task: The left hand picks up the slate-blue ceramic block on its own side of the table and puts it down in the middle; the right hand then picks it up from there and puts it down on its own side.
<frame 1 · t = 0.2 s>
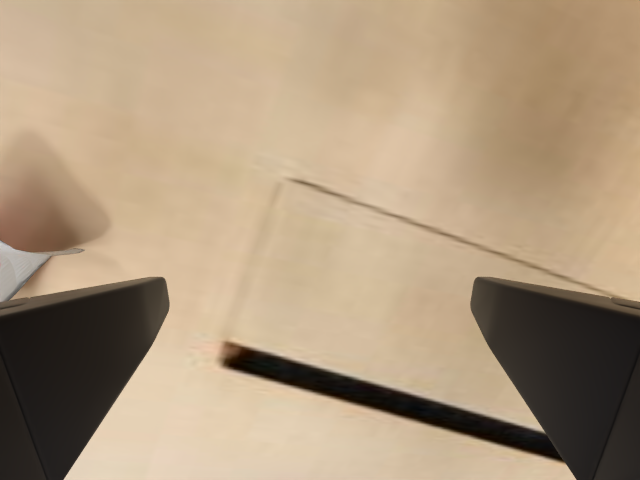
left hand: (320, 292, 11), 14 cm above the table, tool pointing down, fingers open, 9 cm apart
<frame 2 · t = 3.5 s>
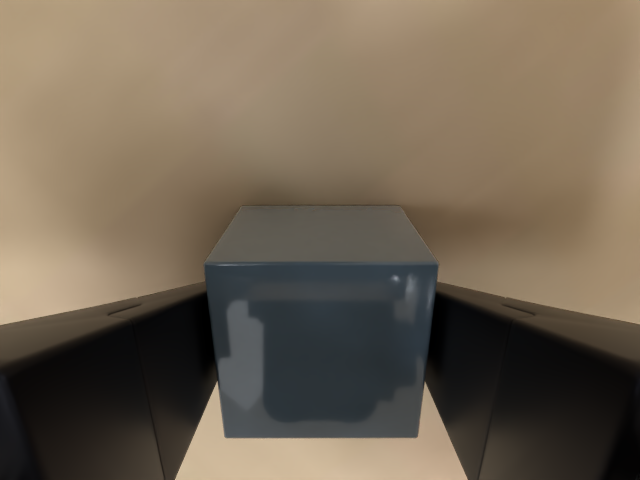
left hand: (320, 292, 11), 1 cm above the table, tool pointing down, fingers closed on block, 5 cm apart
block: (320, 276, 12), on the table, touching left hand
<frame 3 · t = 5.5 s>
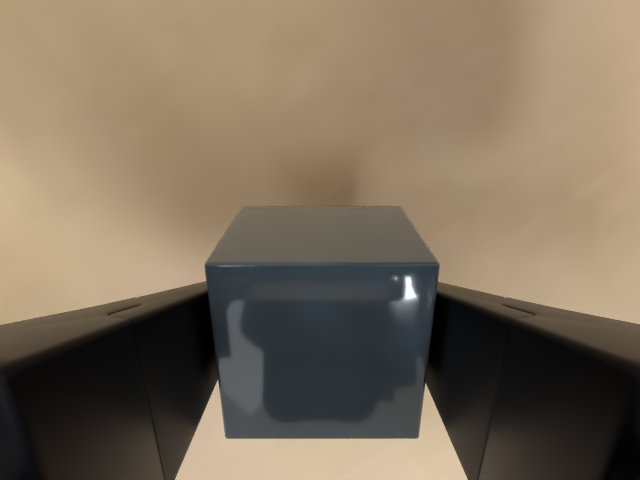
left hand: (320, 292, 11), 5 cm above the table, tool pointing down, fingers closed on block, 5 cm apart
block: (321, 277, 12), point 4 cm above the table, touching left hand
when the left hand's fingers open (2 cm above the table, at t = 7.7 s): block stays where it is, on the table.
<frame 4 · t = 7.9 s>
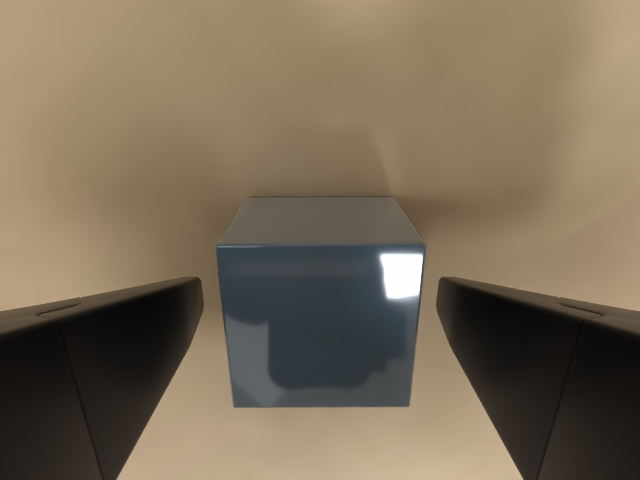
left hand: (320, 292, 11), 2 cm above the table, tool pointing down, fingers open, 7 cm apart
block: (320, 263, 13), on the table
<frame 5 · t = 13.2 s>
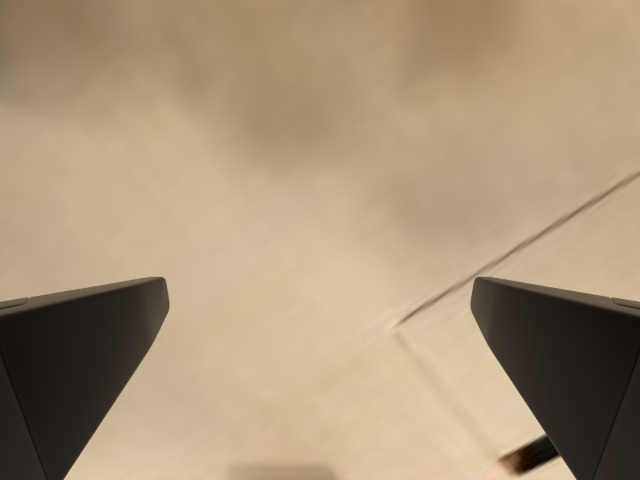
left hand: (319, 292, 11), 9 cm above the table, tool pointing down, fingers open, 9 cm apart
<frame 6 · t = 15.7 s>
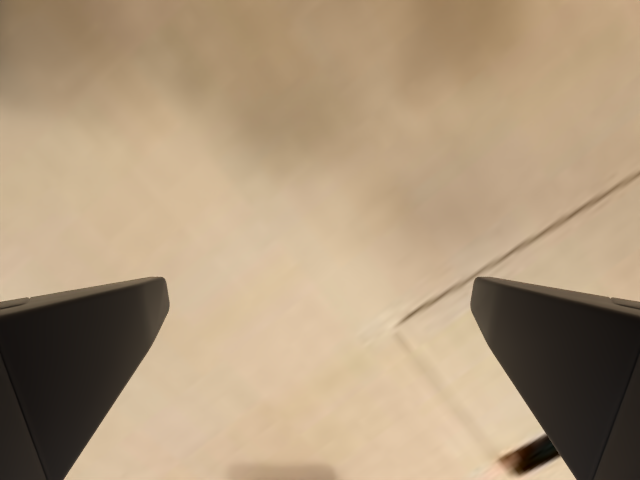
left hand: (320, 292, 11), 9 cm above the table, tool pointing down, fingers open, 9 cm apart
when the right hand's fingers open (2 cm above the table, at t = 18.3 s): block stays where it is, on the table.
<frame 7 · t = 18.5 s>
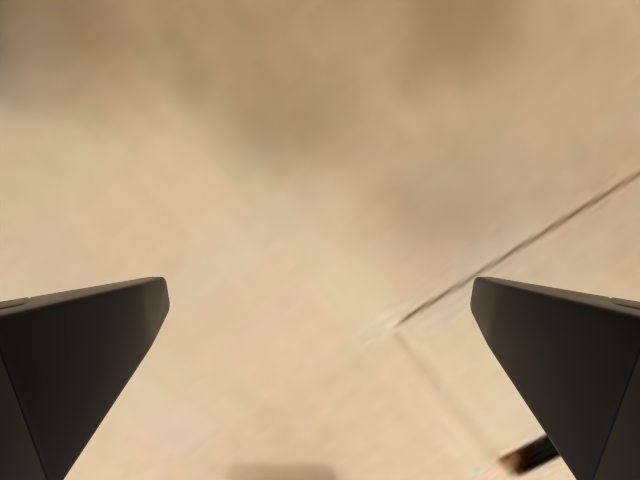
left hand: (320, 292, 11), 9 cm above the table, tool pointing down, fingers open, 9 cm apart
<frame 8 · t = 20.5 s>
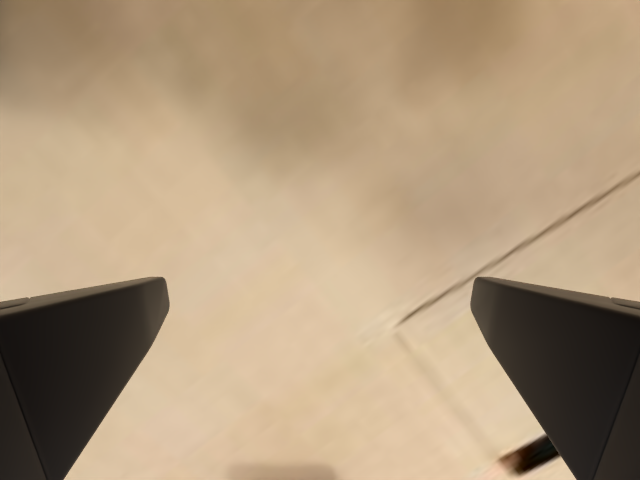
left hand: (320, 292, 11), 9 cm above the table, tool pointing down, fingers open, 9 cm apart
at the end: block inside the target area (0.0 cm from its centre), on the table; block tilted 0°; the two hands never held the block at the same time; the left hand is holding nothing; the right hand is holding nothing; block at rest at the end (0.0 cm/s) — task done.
